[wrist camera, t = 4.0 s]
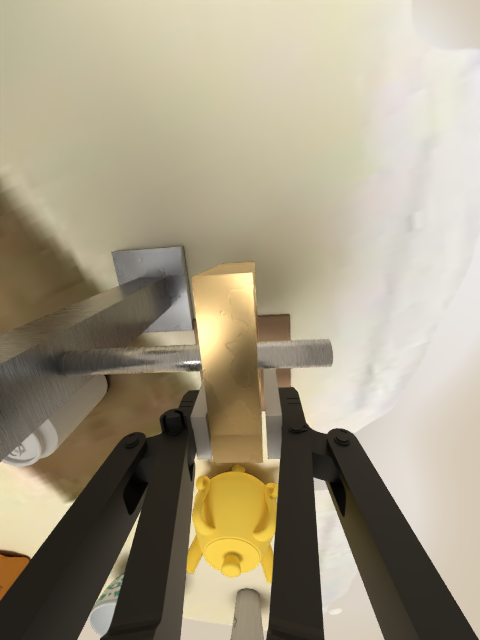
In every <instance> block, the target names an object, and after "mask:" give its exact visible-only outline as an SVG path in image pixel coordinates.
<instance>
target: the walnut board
mask: <svg viewBox="0 0 480 640" xmlns="http://www.w3.org/2000/svg"><path fill="white" fill-rule="evenodd" d="M257 317H258V336H259V342H268V341H290V315H270V316H257ZM193 326H194V333H195V340H196V345H199V337H198V328H197V320H196V319H194V320H193ZM275 370H276V377H277V384H278V387H290V368H277V369H275ZM200 374H201V381H202V382H203V379H204V378H203V371H200ZM260 377H261V392H260V394H261V411H265V393H264V374H263V369H260Z"/></svg>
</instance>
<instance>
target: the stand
mask: <svg viewBox="0 0 480 640" xmlns="http://www.w3.org/2000/svg"><path fill="white" fill-rule="evenodd" d="M112 256H113V261H114V265H115V269H116V273H117V277H118V282H119V286H117V287H115V288H112V289H110V290H108V291H105V292H103V293H100V294H98V295H95V296H93V297H91V298H88V299H86V300H83V301H81V302H78V303H76V304H74V305H71V306H69V307H66V308H64V309H61V310H59V311H56V312H54V313H52V314H49V315H47V316H44V317H42V318H39V319H37V320H35V321H32V322H30V323H27V324H25V325H22V326H20V327H18V328H15V329H13V330H10V331H8V332H5V333H3V334H1V335H0V462H1V461H2V460H3V459H4V458H5V457H7V456H8V455H9V454H10V453H11V452H12V451H13V450H14V449H15V448H16V447H18V446H19V445H20V444H21V443H22V442H23V441H24V440H25V439H26V438H27V437H29V436H30V435H31V434H32V433H33V432H34V431H35V430H36V429H37V428H38V427H39V426H41V425H42V424H43V423H44V422H45V421H46V420H47V419H48V418H49V417H50V416H52V415H53V414H54V413H55V412H56V411H57V410H58V409H59V408H60V407H61V406H63V405H64V404H65V403H66V402H67V401H68V400H69V399H70V398H71V397H72V396H74V395H75V394H76V393H77V392H78V391H79V390H80V389H81V388H82V387H83V386H84V385H86V384H87V383H88V382H89V381H90V380H91V379H92V378H93V377H94V376H95V375H105V374H134V373H162V372H191V371H203V370H202V362H201V353H200V345H176V346H153V347H130V348H126V347H127V346H128V345H130V344H131V343H132V342H133V341H134V340H135V339H136V338H137V337H138V336H139V335H140V334H142V333H146V332H167V331H187V330H193V329H194V326H193V320H194V317H193V310H192V303H191V296H190V289H189V282H188V276H187V269H186V262H185V255H184V248H183V246H177V247H164V248H151V249H138V250H125V251H114V252H112ZM257 352H258V369H277V368H306V367H331V366H332V362H333V351H332V346H331V342H330V340H329V339H314V340H291V341H268V342H257Z"/></svg>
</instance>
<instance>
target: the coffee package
mask: <svg viewBox="0 0 480 640" xmlns="http://www.w3.org/2000/svg"><path fill="white" fill-rule="evenodd" d="M28 563H29V559H28V558H26V557H6V556H4V555H1V554H0V600H1V599H2V598H3V596H4V595H5V594H6V592H7V591H8V590H9V588H10V587H11V586H12V584H13V583H14V582H15V580H16V579H17V578H18V576H19V575H20V574H21V572H22V571H23V570H24V568H25V567H26V566H27V564H28Z"/></svg>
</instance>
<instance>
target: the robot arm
mask: <svg viewBox="0 0 480 640" xmlns="http://www.w3.org/2000/svg"><path fill="white" fill-rule="evenodd" d="M263 374H264V393H265V411H266V430H267V448H268V459H280V470H279V485H278V499H277V513H276V528H275V542H274V557H273V571H272V586H271V600H270V615H269V626H268V631H267V639H266V640H324V629H323V614H322V599H321V584H320V569H319V555H318V540H317V525H316V510H315V495H314V481H313V477H314V478H318V479H321V480H324V481H325V482H326V485H327V487H328V490H329V493H330V495H331V498H332V501H333V503H334V506H335V509H336V511H337V514H338V517H339V519H340V522H341V525H342V527H343V530H344V533H345V535H346V538H347V541H348V543H349V546H350V549H351V551H352V554H353V557H354V559H355V562H356V565H357V567H358V570H359V573H360V575H361V578H362V580H363V583H364V586H365V589H366V591H367V594H368V596H369V599H370V602H371V604H372V607H373V610H374V612H375V615H376V618H377V621H378V623H379V626H380V629H381V631H382V634H383V637H384V639H385V640H479V639H478V638H477V636H476V634H475V633H474V631H473V629H472V628H471V626H470V624H469V623H468V621H467V619H466V618H465V616H464V614H463V613H462V611H461V609H460V608H459V606H458V604H457V603H456V601H455V600H454V598H453V596H452V595H451V593H450V591H449V590H448V588H447V586H446V585H445V583H444V581H443V580H442V578H441V577H440V575H439V573H438V572H437V570H436V568H435V566H434V565H433V563H432V562H431V560H430V558H429V557H428V555H427V553H426V552H425V550H424V548H423V547H422V545H421V543H420V542H419V540H418V538H417V537H416V535H415V533H414V532H413V530H412V529H411V527H410V525H409V524H408V522H407V520H406V519H405V517H404V515H403V514H402V512H401V510H400V509H399V507H398V505H397V504H396V502H395V500H394V499H393V497H392V496H391V494H390V492H389V491H388V489H387V487H386V486H385V484H384V482H383V481H382V479H381V477H380V476H379V474H378V472H377V471H376V469H375V468H374V466H373V464H372V463H371V461H370V459H369V458H368V456H367V454H366V453H365V451H364V449H363V448H362V446H361V444H360V443H359V441H358V439H357V438H356V437H355V436H354V434H353V433H351V432H349V431H348V430H345V429H339V428H336V429H332V430H330V431H329V432H328V434H324V433H320V432H317V431H315V430H313V429H311V428H310V427H309V425H308V424H307V423H306V421H305V417H304V413H303V409H302V406H301V402H300V398H299V394H298V392H297V391H296V389H295V388H294V387H278V384H277V377H276V370H275V369H263ZM160 424H161V428H162V433H161V434H159V435H156V436H153V437H149V438H146V436H145V435H144V434H143V433H140V432H135V433H131V434H128V435H127V436H125V437H124V438H123V439H122V440H121V441H120V442H119V443H118V444H117V446H116V447H115V448H114V450H113V451H112V452H111V454H110V455H109V456H108V458H107V459H106V460H105V462H104V463H103V464H102V466H101V467H100V468H99V470H98V471H97V472H96V474H95V475H94V476H93V478H92V479H91V480H90V482H89V483H88V484H87V486H86V487H85V488H84V490H83V491H82V492H81V494H80V495H79V496H78V498H77V499H76V500H75V502H74V503H73V504H72V506H71V507H70V508H69V510H68V511H67V512H66V514H65V515H64V516H63V518H62V519H61V520H60V522H59V523H58V524H57V526H56V527H55V528H54V530H53V531H52V532H51V534H50V535H49V536H48V538H47V539H46V540H45V542H44V543H43V544H42V546H41V547H40V548H39V550H38V551H37V552H36V554H35V555H34V556H33V558H32V559H31V560H30V562H29V563H28V564H27V566H26V567H25V568H24V570H23V571H22V572H21V574H20V575H19V576H18V578H17V579H16V580H15V582H14V583H13V584H12V586H11V587H10V588H9V590H8V591H7V592H6V594H5V595H4V596H3V598H2V599H1V600H0V640H77V639H78V637H79V635H80V633H81V631H82V629H83V627H84V625H85V623H86V621H87V618H88V617H89V615H90V613H91V611H92V609H93V607H94V604H95V602H96V600H97V598H98V596H99V594H100V592H101V590H102V588H103V586H104V584H105V582H106V580H107V578H108V576H109V574H110V572H111V570H112V568H113V566H114V564H115V562H116V560H117V558H118V556H119V554H120V552H121V550H122V548H123V546H124V544H125V542H126V540H127V537H128V535H129V533H130V531H131V529H132V527H133V525H134V523H135V521H136V519H137V517H138V515H139V513H140V511H141V513H140V517H139V521H138V524H137V528H136V532H135V536H134V539H133V543H132V547H131V550H130V554H129V558H128V562H127V565H126V569H125V573H124V577H123V580H122V584H121V588H120V591H119V595H118V599H117V603H116V606H115V610H114V614H113V617H112V621H111V624H110V627H109V629H108V631H107V633H106V634H105V635H103V636H102V637H101V638H100V640H180V636H181V626H182V614H183V603H184V591H185V580H186V569H187V557H188V546H189V534H190V523H191V511H192V500H193V489H194V477H195V462H194V459H195V455H196V453H197V459H212V456H213V453H212V444H211V436H210V428H209V420H208V411H207V403H206V395H205V386H204V379H203V382H202V385H201V388H200V390H193V391H188V392H187V393H186V394H185V395H184V396H183V398H182V401H181V403H180V405H179V408H178V409H171V410H168V411H166V412H165V413H164V414H162V415H161V417H160ZM141 509H142V510H141Z"/></svg>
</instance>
